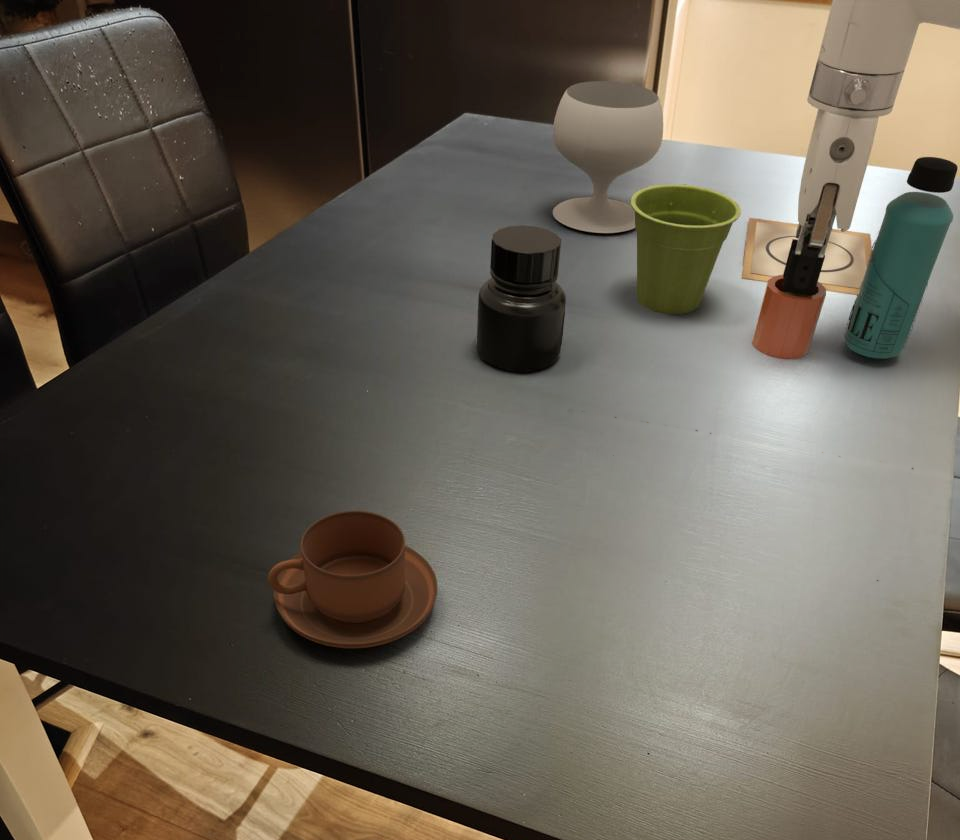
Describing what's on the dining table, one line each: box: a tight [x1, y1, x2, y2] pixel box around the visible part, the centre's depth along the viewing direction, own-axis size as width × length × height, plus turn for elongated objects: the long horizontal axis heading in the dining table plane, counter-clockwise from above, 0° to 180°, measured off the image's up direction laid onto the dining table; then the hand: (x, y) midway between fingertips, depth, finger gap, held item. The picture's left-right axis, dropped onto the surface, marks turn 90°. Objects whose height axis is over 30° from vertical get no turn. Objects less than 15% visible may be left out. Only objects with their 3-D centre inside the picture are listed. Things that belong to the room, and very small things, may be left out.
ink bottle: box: [476, 224, 567, 372], centre depth 95 cm, size 10×9×12 cm
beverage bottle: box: [843, 156, 958, 359], centre depth 94 cm, size 6×7×20 cm
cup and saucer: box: [267, 510, 438, 649], centre depth 68 cm, size 12×12×6 cm
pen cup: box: [751, 275, 827, 360], centre depth 99 cm, size 6×6×7 cm
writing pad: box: [741, 217, 873, 296], centre depth 119 cm, size 16×20×1 cm
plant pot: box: [630, 183, 742, 315], centre depth 105 cm, size 12×12×11 cm
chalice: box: [552, 80, 664, 234], centre depth 121 cm, size 14×14×15 cm
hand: (798, 284), depth 97 cm, fingers closed, pressing on marker
